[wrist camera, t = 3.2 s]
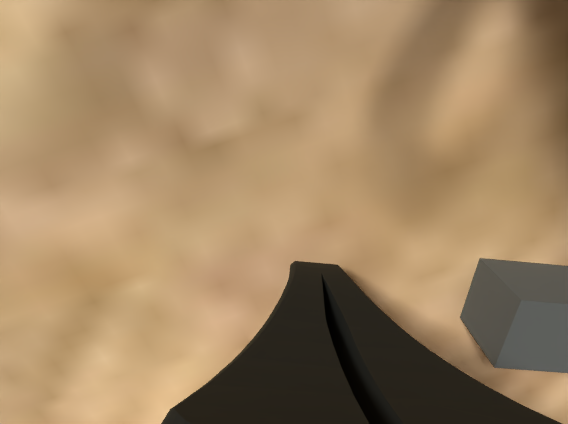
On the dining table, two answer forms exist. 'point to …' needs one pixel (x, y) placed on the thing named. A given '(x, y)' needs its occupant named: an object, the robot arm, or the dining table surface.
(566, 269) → the plug
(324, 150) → the dining table surface
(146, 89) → the dining table surface
